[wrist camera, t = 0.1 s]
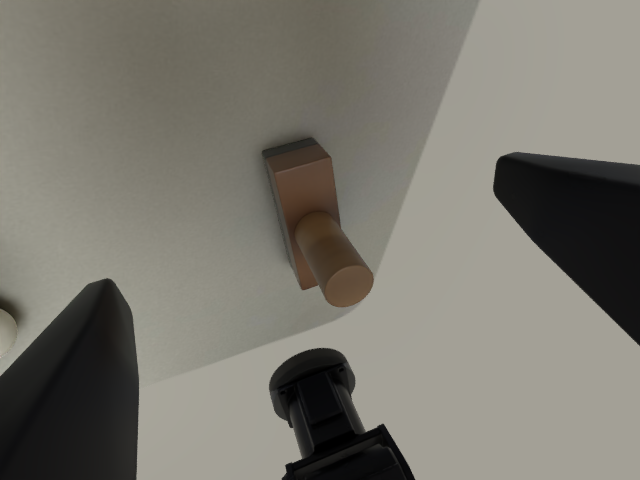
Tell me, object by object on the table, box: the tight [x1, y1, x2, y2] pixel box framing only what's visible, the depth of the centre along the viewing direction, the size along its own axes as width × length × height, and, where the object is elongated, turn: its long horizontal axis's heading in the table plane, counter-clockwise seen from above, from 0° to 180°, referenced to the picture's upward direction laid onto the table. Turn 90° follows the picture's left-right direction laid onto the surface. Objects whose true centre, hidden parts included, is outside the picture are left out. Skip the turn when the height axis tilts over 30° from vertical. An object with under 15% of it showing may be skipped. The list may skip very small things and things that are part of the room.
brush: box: [262, 138, 374, 307], centre depth 21 cm, size 8×3×8 cm, turn 9°
